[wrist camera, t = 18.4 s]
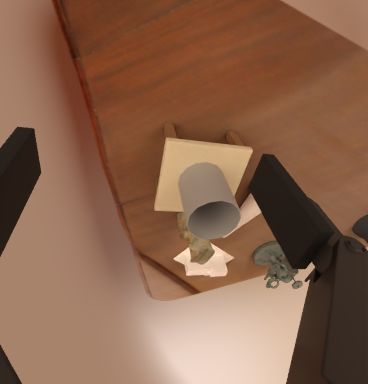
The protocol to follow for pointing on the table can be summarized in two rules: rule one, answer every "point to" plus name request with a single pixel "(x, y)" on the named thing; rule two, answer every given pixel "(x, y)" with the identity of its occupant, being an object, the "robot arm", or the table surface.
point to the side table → (191, 154)
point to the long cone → (247, 211)
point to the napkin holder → (211, 267)
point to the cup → (208, 201)
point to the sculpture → (195, 243)
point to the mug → (362, 228)
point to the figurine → (275, 264)
